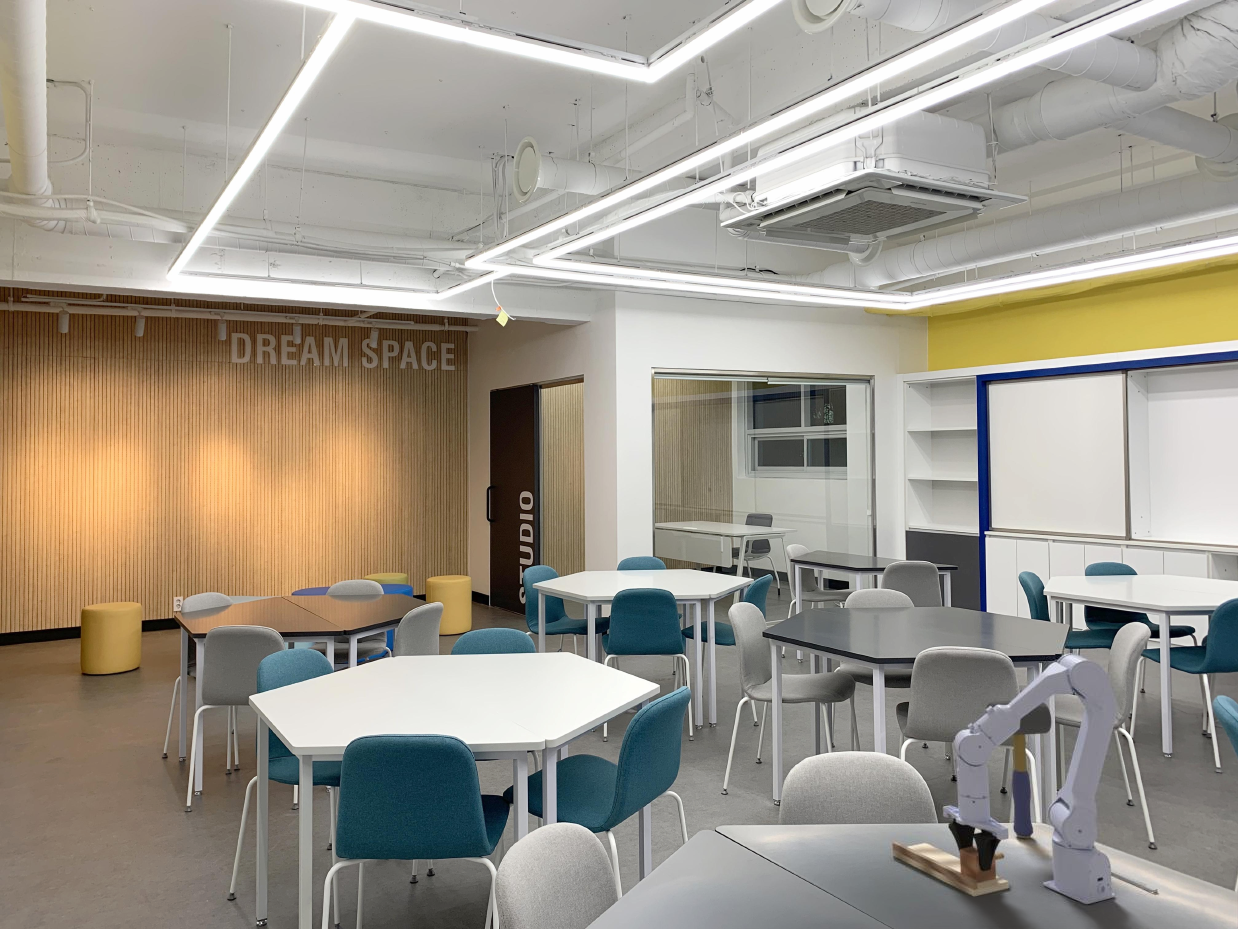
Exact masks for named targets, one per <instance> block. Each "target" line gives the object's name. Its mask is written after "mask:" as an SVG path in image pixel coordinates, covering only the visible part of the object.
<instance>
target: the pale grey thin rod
mask: <svg viewBox="0 0 1238 929" xmlns="http://www.w3.org/2000/svg"><path fill="white" fill-rule="evenodd" d="M1112 875H1113V876H1112ZM1111 876H1112V877H1114V876H1116V877H1115V878H1117V877H1118V878H1117V879H1119V880H1121V879H1122V880H1121V881H1124V882H1126V881H1127V882H1126V883H1128V884H1130V883H1131V884H1130V885H1132V886H1136V887H1137V888H1139V887H1140V889H1142V888H1143V889H1142V890H1144V889H1145V890H1144V891H1146V890H1147V892H1149V893H1151V892H1153V893H1154V894H1156V893H1155V892H1158V893H1159V891H1158V888H1156V887H1154V886H1151V885H1149V884H1146V883H1144V882H1142V881H1140V880H1138V879H1135V878H1133V877H1130V876H1128V875H1126V874H1123V873H1121V872H1118V871H1117V870H1114V869H1112V868H1111ZM1153 893H1152V894H1153Z"/></svg>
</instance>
